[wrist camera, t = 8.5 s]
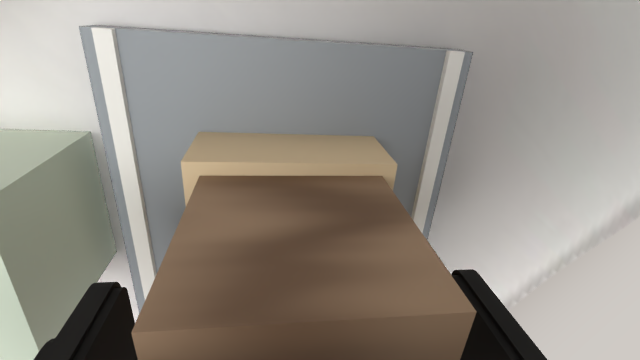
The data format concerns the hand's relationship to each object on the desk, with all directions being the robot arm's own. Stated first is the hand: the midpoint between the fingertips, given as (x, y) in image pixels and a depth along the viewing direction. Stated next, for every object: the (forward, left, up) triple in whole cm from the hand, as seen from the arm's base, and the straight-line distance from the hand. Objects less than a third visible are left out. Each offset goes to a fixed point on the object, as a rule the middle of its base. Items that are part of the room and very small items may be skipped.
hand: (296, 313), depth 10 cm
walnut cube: (0, 0, -3) cm, 3 cm away
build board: (0, 0, -7) cm, 7 cm away
